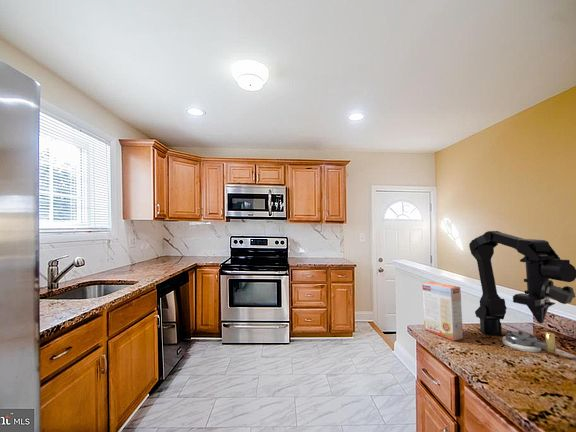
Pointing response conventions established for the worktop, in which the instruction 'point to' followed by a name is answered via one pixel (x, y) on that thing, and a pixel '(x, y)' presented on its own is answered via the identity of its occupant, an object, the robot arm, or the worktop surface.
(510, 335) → the grey piece
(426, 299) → the cracker box
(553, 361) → the worktop surface
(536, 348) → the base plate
